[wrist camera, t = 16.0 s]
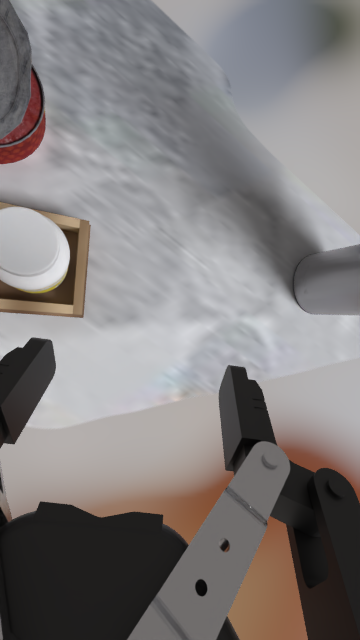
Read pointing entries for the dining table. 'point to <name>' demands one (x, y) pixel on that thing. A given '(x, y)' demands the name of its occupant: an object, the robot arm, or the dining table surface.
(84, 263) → the wooden box
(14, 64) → the canned food
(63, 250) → the supplement bottle
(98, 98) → the dining table surface
